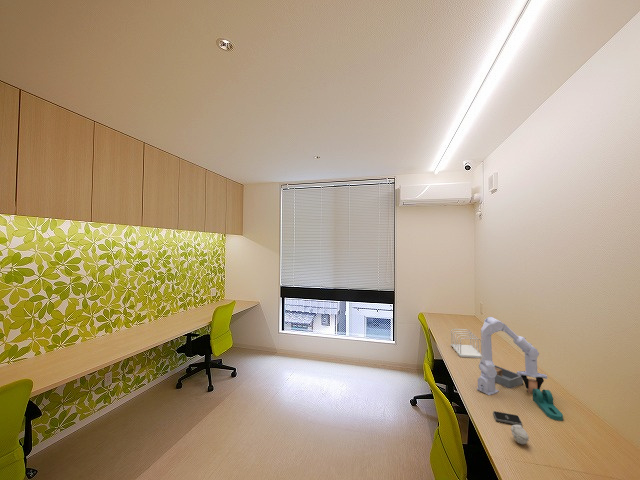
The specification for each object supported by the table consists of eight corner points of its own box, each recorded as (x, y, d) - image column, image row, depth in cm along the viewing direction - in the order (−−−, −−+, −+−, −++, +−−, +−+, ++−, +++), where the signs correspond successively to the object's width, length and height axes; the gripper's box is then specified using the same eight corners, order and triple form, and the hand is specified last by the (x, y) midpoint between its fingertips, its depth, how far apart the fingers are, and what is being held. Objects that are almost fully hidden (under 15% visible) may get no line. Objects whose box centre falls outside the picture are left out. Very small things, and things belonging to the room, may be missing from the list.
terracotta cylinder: (535, 395, 155) (534, 383, 155) (525, 391, 159) (524, 379, 160) (539, 393, 157) (539, 381, 157) (530, 389, 161) (529, 377, 162)
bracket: (532, 400, 150) (532, 386, 151) (547, 402, 148) (546, 387, 149) (549, 419, 133) (548, 403, 134) (566, 422, 131) (565, 406, 132)
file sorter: (483, 358, 207) (482, 338, 208) (460, 357, 210) (459, 337, 211) (471, 347, 232) (470, 329, 232) (450, 346, 235) (449, 328, 236)
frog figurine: (520, 436, 122) (519, 421, 122) (533, 448, 115) (532, 431, 115) (507, 437, 122) (507, 421, 122) (519, 448, 115) (519, 432, 115)
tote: (510, 388, 162) (509, 380, 163) (482, 376, 178) (482, 369, 179) (523, 383, 168) (522, 375, 168) (495, 372, 184) (494, 365, 184)
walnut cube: (497, 379, 173) (497, 371, 174) (490, 376, 178) (489, 368, 178) (502, 377, 175) (502, 369, 176) (494, 374, 180) (494, 366, 180)
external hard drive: (493, 414, 139) (492, 410, 139) (518, 419, 135) (518, 415, 135) (496, 422, 132) (496, 418, 132) (522, 428, 128) (522, 423, 128)
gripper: (519, 367, 158) (520, 390, 157) (549, 370, 152) (550, 394, 152) (515, 362, 164) (516, 384, 164) (543, 365, 159) (545, 388, 159)
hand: (532, 389), depth 158 cm, fingers closed on terracotta cylinder, 5 cm apart
